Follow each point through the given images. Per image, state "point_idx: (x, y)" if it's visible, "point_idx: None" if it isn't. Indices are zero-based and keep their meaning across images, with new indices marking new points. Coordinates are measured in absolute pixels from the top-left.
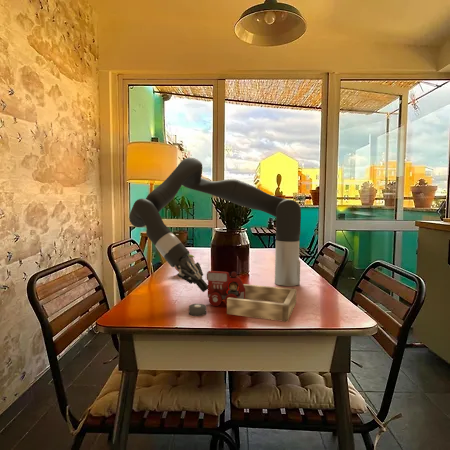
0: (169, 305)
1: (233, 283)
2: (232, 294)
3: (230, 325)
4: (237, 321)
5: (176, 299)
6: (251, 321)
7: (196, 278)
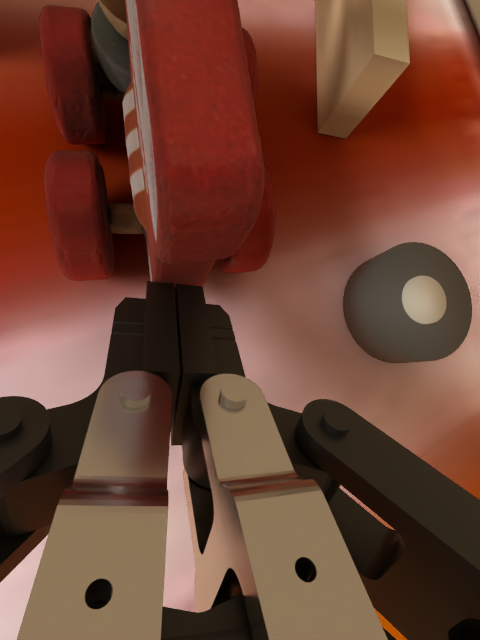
0: None
1: None
2: (245, 40)
3: (471, 105)
4: (418, 77)
5: None
6: None
7: (316, 406)
